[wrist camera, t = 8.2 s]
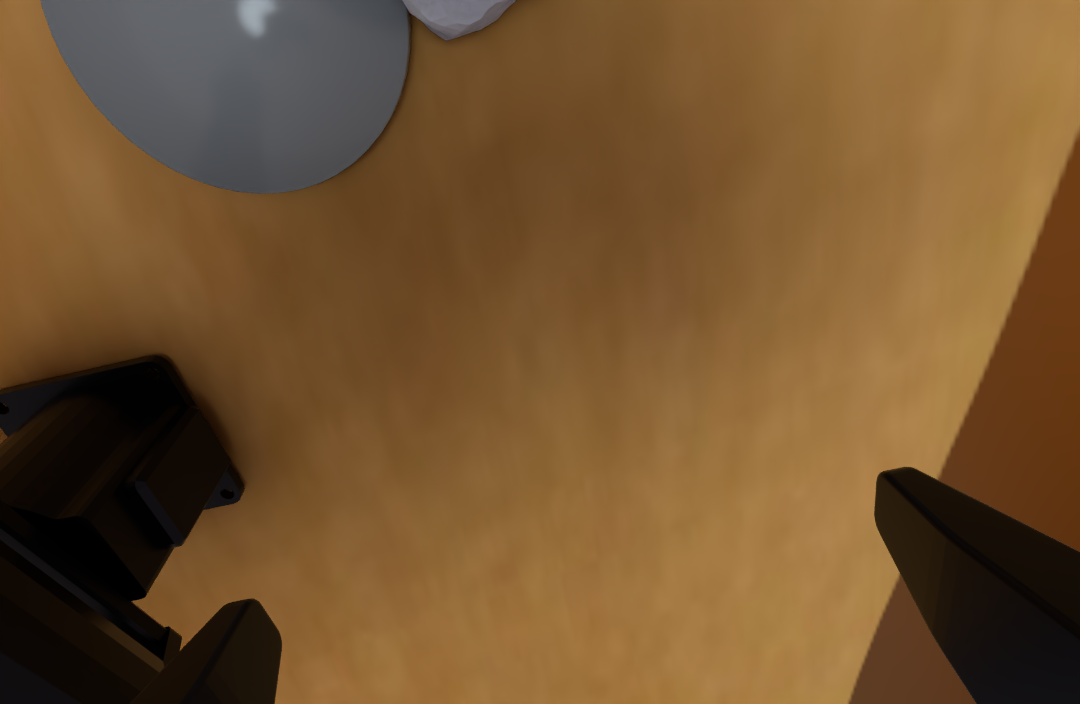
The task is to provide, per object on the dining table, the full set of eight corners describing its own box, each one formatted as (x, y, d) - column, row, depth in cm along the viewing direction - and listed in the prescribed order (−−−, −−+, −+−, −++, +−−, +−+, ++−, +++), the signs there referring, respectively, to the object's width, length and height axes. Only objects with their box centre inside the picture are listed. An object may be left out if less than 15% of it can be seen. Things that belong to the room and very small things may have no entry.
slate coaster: (166, 216, 19) (153, 224, 18) (-28, -148, 15) (-54, -156, 14) (451, 147, 19) (449, 153, 18) (339, -251, 14) (330, -264, 14)
